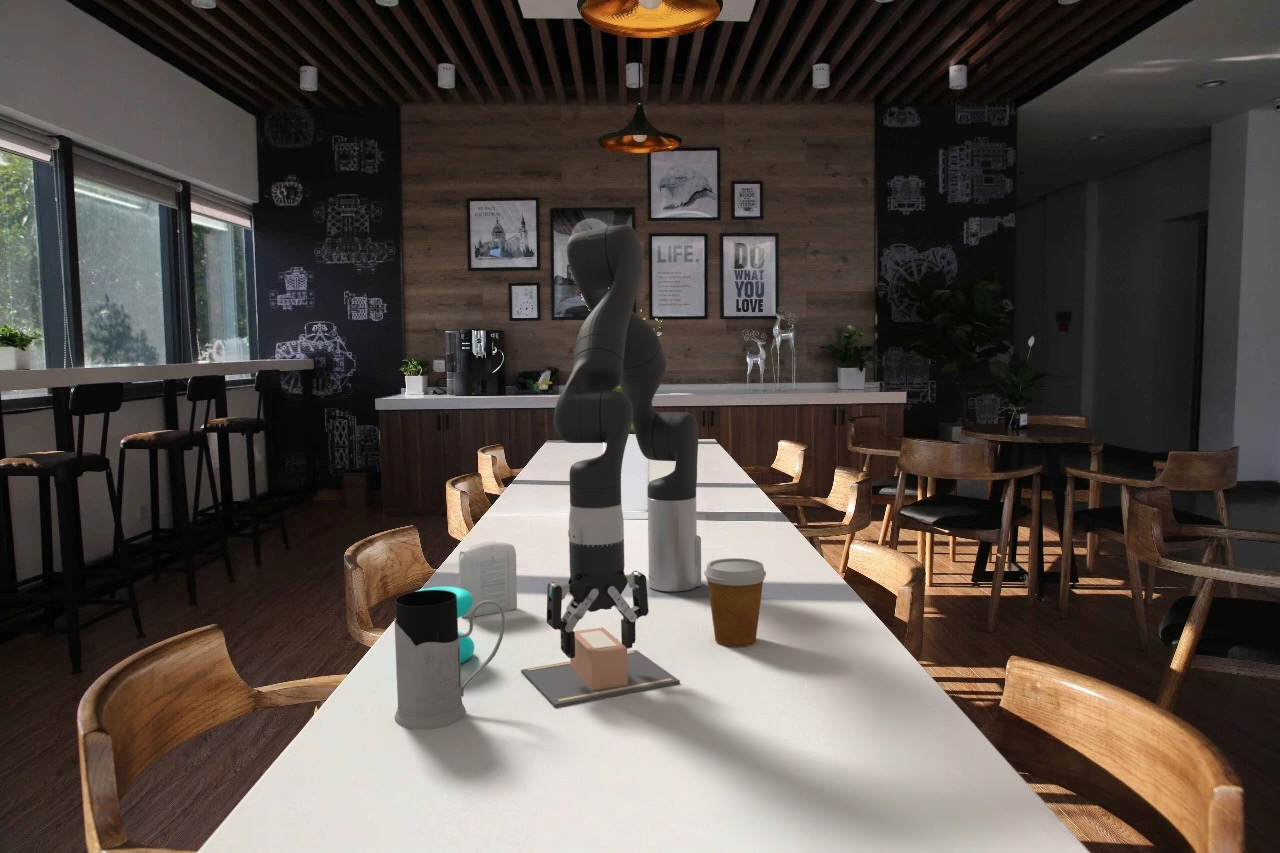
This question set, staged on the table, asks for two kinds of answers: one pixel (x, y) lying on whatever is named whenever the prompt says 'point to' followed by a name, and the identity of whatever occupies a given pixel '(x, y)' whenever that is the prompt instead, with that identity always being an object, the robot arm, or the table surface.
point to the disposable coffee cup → (735, 599)
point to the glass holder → (431, 658)
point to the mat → (570, 688)
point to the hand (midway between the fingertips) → (599, 651)
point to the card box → (600, 659)
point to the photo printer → (489, 576)
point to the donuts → (462, 608)
